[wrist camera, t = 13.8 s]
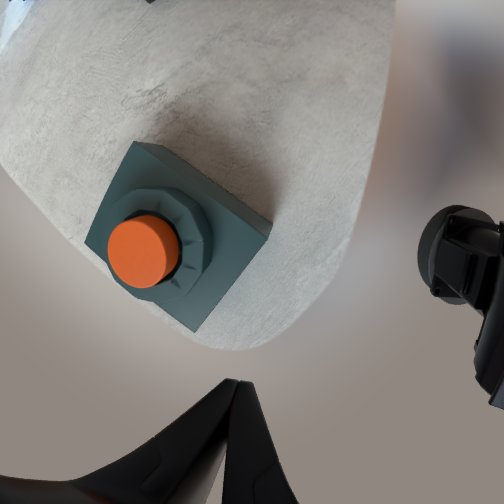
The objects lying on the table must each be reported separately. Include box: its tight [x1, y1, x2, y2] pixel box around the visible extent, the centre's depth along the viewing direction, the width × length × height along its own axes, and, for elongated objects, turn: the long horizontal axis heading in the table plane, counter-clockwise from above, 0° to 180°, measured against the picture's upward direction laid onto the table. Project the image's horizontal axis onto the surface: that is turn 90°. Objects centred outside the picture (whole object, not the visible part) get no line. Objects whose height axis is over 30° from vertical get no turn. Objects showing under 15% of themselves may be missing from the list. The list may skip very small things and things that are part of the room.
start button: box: [108, 215, 179, 288], centre depth 15 cm, size 4×4×2 cm
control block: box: [84, 141, 273, 333], centre depth 18 cm, size 10×8×6 cm
